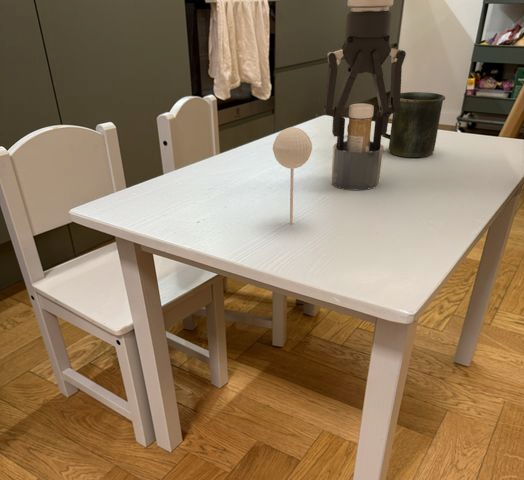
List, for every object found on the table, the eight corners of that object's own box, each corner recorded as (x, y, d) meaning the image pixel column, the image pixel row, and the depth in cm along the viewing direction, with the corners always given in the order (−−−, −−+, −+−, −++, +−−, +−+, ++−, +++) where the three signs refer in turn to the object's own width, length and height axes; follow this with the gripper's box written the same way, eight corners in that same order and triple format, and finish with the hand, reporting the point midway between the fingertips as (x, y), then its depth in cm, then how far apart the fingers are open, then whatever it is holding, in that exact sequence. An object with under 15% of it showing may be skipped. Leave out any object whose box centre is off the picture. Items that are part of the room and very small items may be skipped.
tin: (372, 174, 104) (376, 139, 100) (384, 189, 97) (388, 151, 93) (327, 176, 104) (329, 141, 100) (335, 191, 96) (338, 153, 92)
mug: (436, 159, 112) (447, 101, 105) (371, 157, 115) (377, 99, 108) (434, 147, 121) (444, 92, 114) (373, 145, 124) (378, 91, 116)
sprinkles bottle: (371, 179, 99) (379, 105, 91) (353, 183, 97) (360, 108, 89) (356, 173, 102) (362, 101, 94) (338, 177, 100) (344, 104, 93)
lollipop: (287, 233, 80) (288, 134, 71) (265, 222, 84) (264, 127, 75) (316, 224, 83) (321, 128, 74) (294, 214, 87) (296, 121, 78)
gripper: (419, 7, 87) (401, 146, 100) (309, 10, 86) (305, 150, 100) (434, 8, 81) (412, 156, 94) (315, 12, 80) (310, 160, 94)
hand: (357, 152), depth 97 cm, fingers open, 6 cm apart
